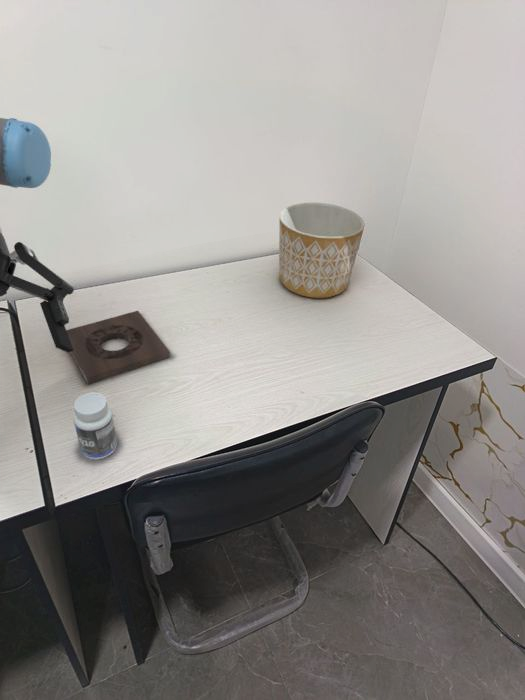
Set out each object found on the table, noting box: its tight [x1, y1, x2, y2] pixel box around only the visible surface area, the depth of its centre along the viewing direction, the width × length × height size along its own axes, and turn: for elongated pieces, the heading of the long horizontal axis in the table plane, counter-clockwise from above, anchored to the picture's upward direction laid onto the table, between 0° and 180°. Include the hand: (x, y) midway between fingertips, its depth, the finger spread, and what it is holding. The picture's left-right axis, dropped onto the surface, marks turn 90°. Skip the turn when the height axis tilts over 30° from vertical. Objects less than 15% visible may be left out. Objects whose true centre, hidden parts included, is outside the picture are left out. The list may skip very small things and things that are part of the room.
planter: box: [278, 202, 366, 299], centre depth 117 cm, size 19×19×16 cm
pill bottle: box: [73, 391, 118, 460], centre depth 75 cm, size 6×6×10 cm
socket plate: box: [66, 310, 171, 385], centre depth 97 cm, size 16×16×2 cm
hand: (17, 375), depth 61 cm, fingers open, 13 cm apart
